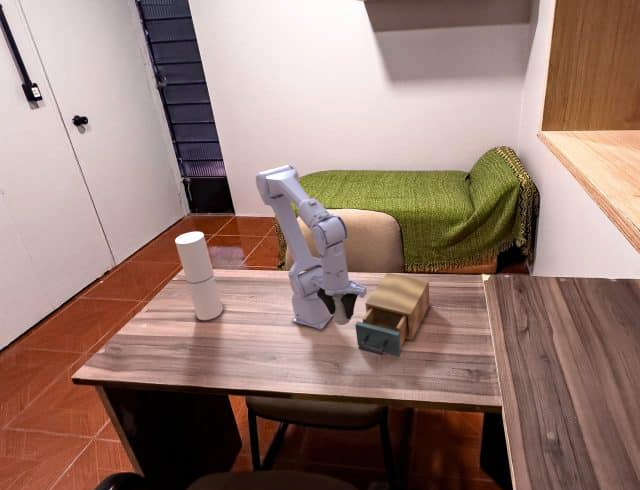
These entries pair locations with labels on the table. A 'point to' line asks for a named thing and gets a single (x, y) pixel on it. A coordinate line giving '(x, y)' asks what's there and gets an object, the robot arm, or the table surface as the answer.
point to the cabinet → (402, 298)
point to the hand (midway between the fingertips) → (341, 314)
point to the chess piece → (339, 310)
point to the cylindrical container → (199, 275)
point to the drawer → (382, 332)
